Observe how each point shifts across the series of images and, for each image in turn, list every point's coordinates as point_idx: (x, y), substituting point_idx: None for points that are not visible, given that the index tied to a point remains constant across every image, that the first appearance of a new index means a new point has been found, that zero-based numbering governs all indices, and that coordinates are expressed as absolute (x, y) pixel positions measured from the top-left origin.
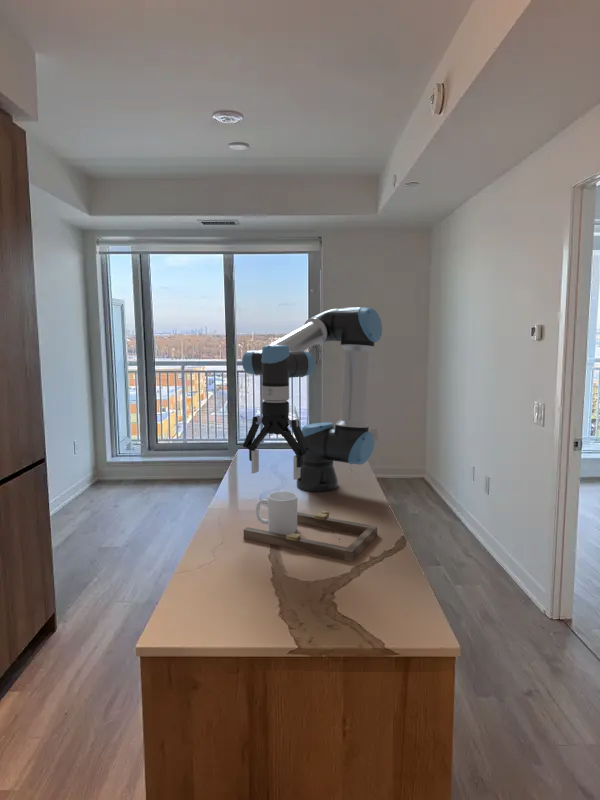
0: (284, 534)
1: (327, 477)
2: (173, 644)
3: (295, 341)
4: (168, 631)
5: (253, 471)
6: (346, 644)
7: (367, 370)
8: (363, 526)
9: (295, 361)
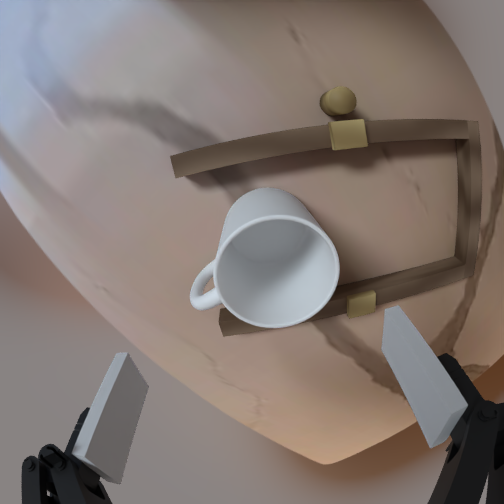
0: (295, 254)
1: None
2: (346, 457)
3: None
4: (331, 457)
5: (145, 394)
6: None
7: None
8: (460, 136)
9: None
